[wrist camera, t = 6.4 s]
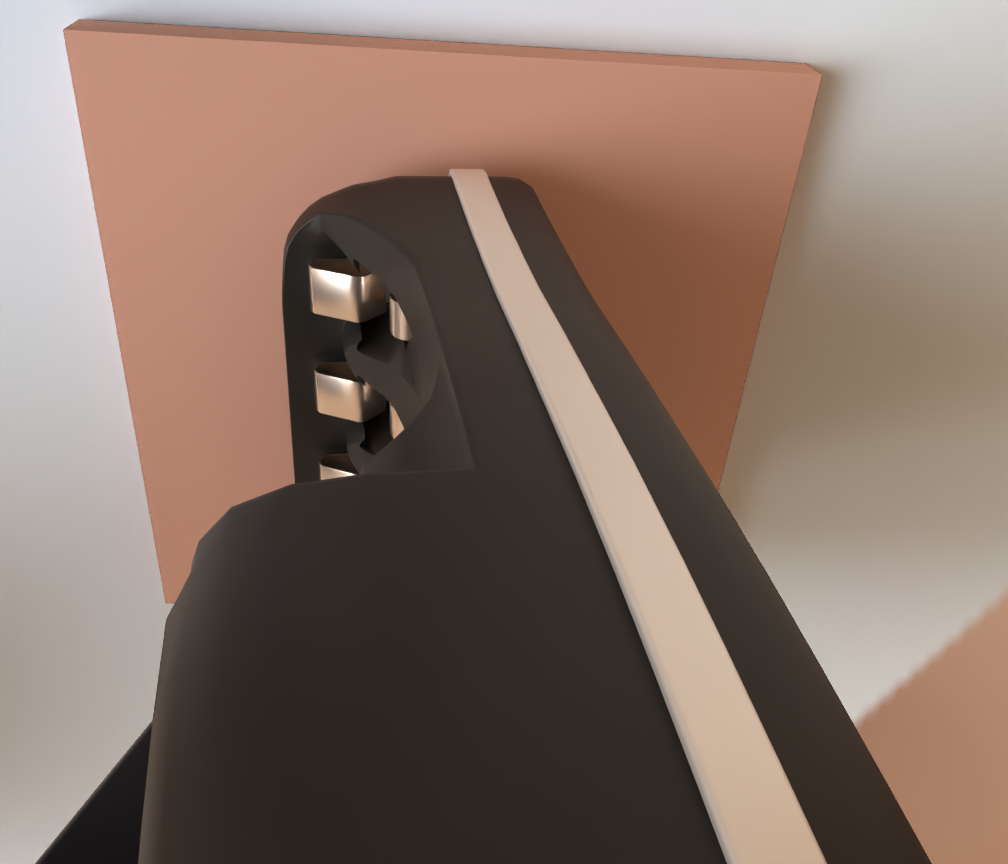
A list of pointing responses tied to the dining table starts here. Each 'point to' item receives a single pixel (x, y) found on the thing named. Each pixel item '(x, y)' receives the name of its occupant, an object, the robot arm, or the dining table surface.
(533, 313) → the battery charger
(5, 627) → the dining table surface
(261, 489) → the mat
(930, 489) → the dining table surface
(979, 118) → the dining table surface
